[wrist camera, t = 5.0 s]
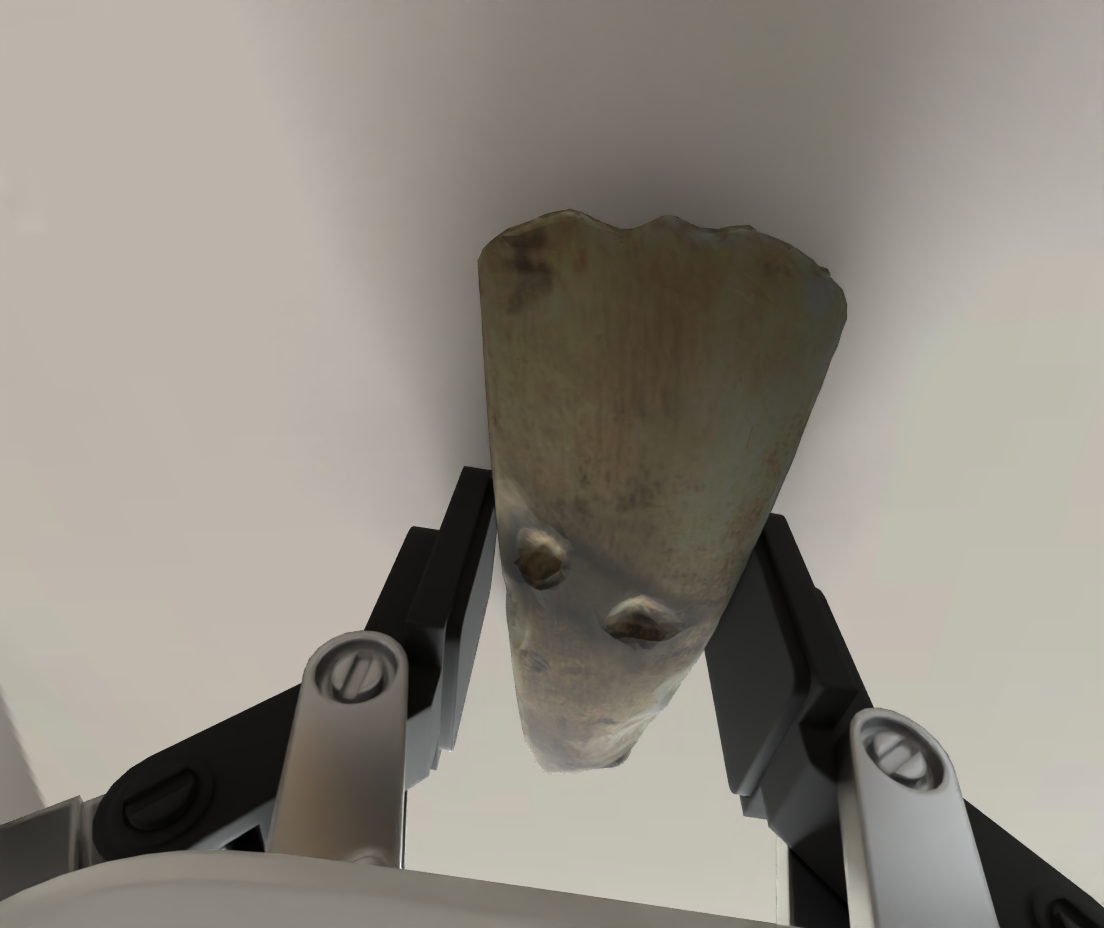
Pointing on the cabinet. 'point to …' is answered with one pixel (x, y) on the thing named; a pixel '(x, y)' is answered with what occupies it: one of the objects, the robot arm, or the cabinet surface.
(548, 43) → the cabinet surface
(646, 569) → the stone
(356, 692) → the robot arm
